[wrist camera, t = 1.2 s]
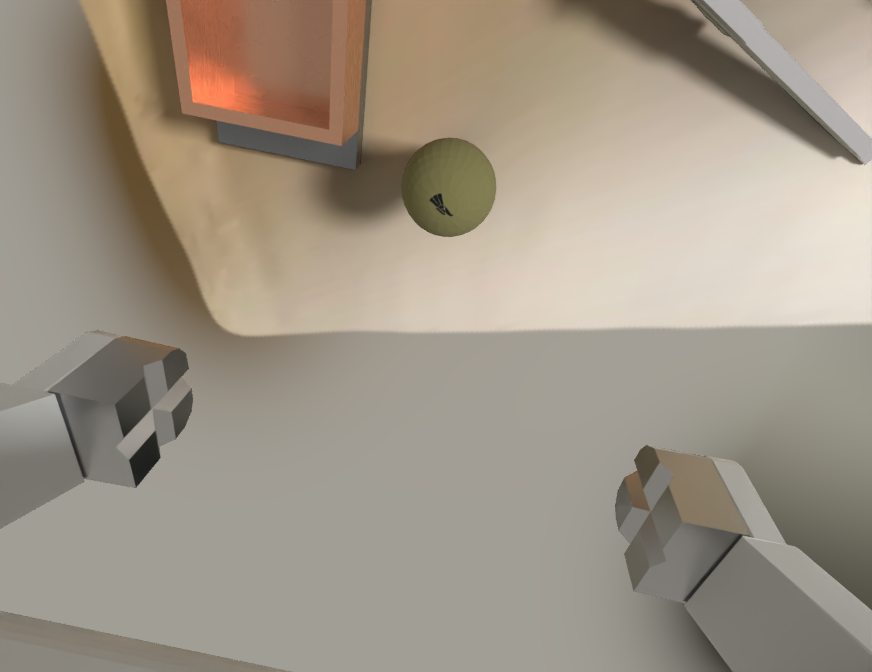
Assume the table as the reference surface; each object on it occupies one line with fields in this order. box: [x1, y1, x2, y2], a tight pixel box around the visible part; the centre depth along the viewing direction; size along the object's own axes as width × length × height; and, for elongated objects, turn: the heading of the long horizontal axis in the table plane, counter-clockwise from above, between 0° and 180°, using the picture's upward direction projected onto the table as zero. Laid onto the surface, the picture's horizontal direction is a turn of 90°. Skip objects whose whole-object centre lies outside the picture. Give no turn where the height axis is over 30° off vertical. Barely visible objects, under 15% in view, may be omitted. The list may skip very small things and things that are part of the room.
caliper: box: [691, 0, 872, 165], centre depth 27 cm, size 20×1×6 cm, turn 58°
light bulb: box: [402, 138, 496, 237], centre depth 30 cm, size 6×6×10 cm
